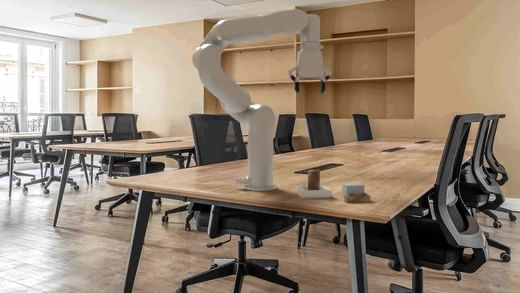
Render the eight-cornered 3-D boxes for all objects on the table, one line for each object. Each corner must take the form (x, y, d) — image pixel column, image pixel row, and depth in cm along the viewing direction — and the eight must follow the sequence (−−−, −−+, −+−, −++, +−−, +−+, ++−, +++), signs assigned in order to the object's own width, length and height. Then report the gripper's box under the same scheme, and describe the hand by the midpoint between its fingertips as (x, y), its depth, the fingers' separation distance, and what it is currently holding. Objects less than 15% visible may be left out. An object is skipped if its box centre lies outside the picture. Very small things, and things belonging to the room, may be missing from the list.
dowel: (309, 194, 144) (309, 171, 143) (306, 192, 148) (306, 169, 147) (321, 194, 145) (321, 171, 144) (317, 192, 149) (318, 169, 148)
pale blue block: (346, 201, 138) (346, 185, 137) (342, 198, 141) (342, 183, 141) (364, 200, 139) (364, 185, 138) (359, 197, 142) (359, 183, 142)
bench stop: (346, 202, 134) (346, 194, 134) (344, 201, 136) (344, 193, 136) (370, 201, 136) (370, 193, 135) (367, 200, 138) (368, 192, 137)
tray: (303, 198, 141) (303, 191, 141) (296, 193, 150) (296, 186, 150) (331, 197, 142) (332, 190, 142) (323, 192, 152) (323, 185, 152)
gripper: (329, 49, 168) (328, 93, 170) (286, 49, 166) (286, 93, 168) (334, 46, 161) (334, 92, 162) (289, 46, 159) (289, 92, 160)
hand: (309, 92), depth 165 cm, fingers open, 9 cm apart
